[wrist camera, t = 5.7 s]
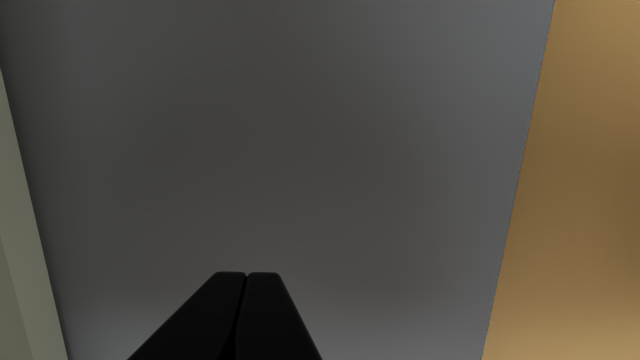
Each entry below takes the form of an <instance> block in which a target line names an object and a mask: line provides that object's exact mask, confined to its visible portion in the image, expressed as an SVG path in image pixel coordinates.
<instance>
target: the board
mask: <svg viewBox="0 0 640 360" xmlns="http://www.w3.org/2000/svg"><path fill="white" fill-rule="evenodd" d="M554 1H555V0H0V68H1V73H2V77H3V81H4V85H5V90H6V94H7V98H8V103H9V107H10V111H11V116H12V120H13V124H14V129H15V133H16V137H17V142H18V146H19V150H20V155H21V159H22V163H23V167H24V172H25V176H26V180H27V185H28V189H29V193H30V198H31V202H32V206H33V211H34V215H35V219H36V224H37V228H38V232H39V237H40V241H41V245H42V250H43V254H44V258H45V262H46V267H47V271H48V275H49V280H50V284H51V288H52V293H53V297H54V301H55V306H56V310H57V314H58V319H59V323H60V327H61V332H62V336H63V340H64V344H65V349H66V353H67V357H68V360H127V359H128V358H129V357H130V356H131V355H132V354H133V353H134V352H135V351H136V350H137V349H138V348H139V347H140V346H141V345H142V344H143V343H144V342H145V341H146V340H147V339H148V338H149V337H150V336H151V335H152V334H153V333H154V332H155V331H156V330H157V329H158V328H159V327H160V326H161V325H162V324H163V323H164V322H165V321H166V320H167V319H168V318H169V317H170V316H171V315H172V314H173V313H174V312H175V311H176V310H177V309H178V308H179V307H180V306H181V305H182V304H183V303H184V302H185V301H186V300H187V299H188V298H189V297H190V296H191V295H192V294H194V293H195V292H196V291H197V290H198V289H199V288H200V287H201V286H202V285H203V284H204V283H205V282H206V281H207V280H208V279H209V278H210V277H211V276H212V275H213V274H214V273H216V272H218V271H235V272H244V273H246V275H247V276H248V274H249V273H251V272H276V273H278V274H279V275H280V276H281V278H282V280H283V282H284V284H285V286H286V288H287V290H288V292H289V294H290V296H291V298H292V300H293V302H294V304H295V306H296V308H297V310H298V312H299V314H300V316H301V318H302V320H303V322H304V324H305V326H306V328H307V329H308V331H309V333H310V335H311V337H312V339H313V341H314V343H315V345H316V347H317V349H318V351H319V353H320V355H321V357H322V359H323V360H481V359H482V354H483V349H484V345H485V340H486V335H487V330H488V325H489V320H490V315H491V310H492V305H493V300H494V296H495V291H496V286H497V281H498V276H499V271H500V266H501V261H502V256H503V251H504V246H505V242H506V237H507V232H508V227H509V222H510V217H511V212H512V207H513V202H514V197H515V192H516V188H517V183H518V178H519V173H520V168H521V163H522V158H523V153H524V148H525V143H526V138H527V134H528V129H529V124H530V119H531V114H532V109H533V104H534V99H535V94H536V89H537V85H538V80H539V75H540V70H541V65H542V60H543V55H544V50H545V45H546V40H547V35H548V31H549V26H550V21H551V16H552V11H553V6H554Z"/></svg>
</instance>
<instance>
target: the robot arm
mask: <svg viewBox="0 0 640 360" xmlns="http://www.w3.org/2000/svg"><path fill="white" fill-rule="evenodd" d="M127 360H323V359H322V357H321V355H320V353H319V351H318V349H317V347H316V345H315V343H314V341H313V339H312V337H311V335H310V333H309V331H308V329H307V328H306V326H305V324H304V322H303V320H302V318H301V316H300V314H299V312H298V310H297V308H296V306H295V304H294V302H293V300H292V298H291V296H290V294H289V292H288V290H287V288H286V286H285V284H284V282H283V280H282V278H281V276H280V275H279V274H278V273H276V272H251V273H249V274H248V276H247V275H246V273H244V272H235V271H218V272H216V273H214V274H213V275H212V276H211V277H210V278H209V279H208V280H207V281H206V282H205V283H204V284H203V285H202V286H201V287H200V288H199V289H198V290H197V291H196V292H195V293H194V294H192V295H191V296H190V297H189V298H188V299H187V300H186V301H185V302H184V303H183V304H182V305H181V306H180V307H179V308H178V309H177V310H176V311H175V312H174V313H173V314H172V315H171V316H170V317H169V318H168V319H167V320H166V321H165V322H164V323H163V324H162V325H161V326H160V327H159V328H158V329H157V330H156V331H155V332H154V333H153V334H152V335H151V336H150V337H149V338H148V339H147V340H146V341H145V342H144V343H143V344H142V345H141V346H140V347H139V348H138V349H137V350H136V351H135V352H134V353H133V354H132V355H131V356H130V357H129V358H128V359H127Z"/></svg>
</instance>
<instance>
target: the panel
mask: <svg viewBox="0 0 640 360" xmlns="http://www.w3.org/2000/svg"><path fill="white" fill-rule="evenodd" d="M0 360H68V357H67V353H66V349H65V344H64V340H63V336H62V332H61V327H60V323H59V319H58V314H57V310H56V306H55V301H54V297H53V293H52V288H51V284H50V280H49V275H48V271H47V267H46V262H45V258H44V254H43V250H42V245H41V241H40V237H39V232H38V228H37V224H36V219H35V215H34V211H33V206H32V202H31V198H30V193H29V189H28V185H27V180H26V176H25V172H24V167H23V163H22V159H21V155H20V150H19V146H18V142H17V137H16V133H15V129H14V124H13V120H12V116H11V111H10V107H9V103H8V98H7V94H6V90H5V85H4V81H3V77H2V73H1V68H0Z"/></svg>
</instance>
